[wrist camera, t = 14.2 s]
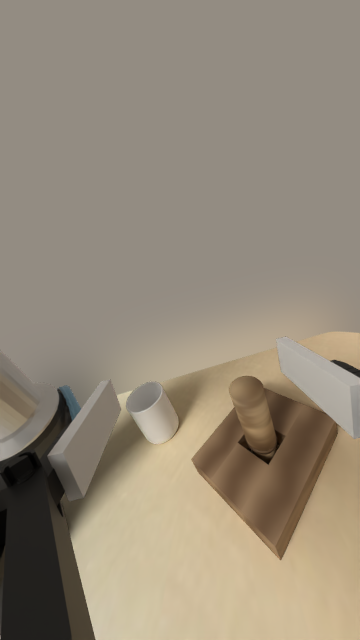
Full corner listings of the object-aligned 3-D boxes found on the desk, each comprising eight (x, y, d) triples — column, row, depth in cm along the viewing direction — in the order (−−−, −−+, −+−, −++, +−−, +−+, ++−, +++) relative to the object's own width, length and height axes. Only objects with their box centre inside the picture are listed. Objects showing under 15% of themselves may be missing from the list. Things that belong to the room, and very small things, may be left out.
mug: (178, 398, 54) (163, 368, 50) (180, 439, 43) (162, 405, 39) (149, 407, 55) (131, 378, 51) (144, 450, 44) (122, 418, 40)
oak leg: (245, 456, 36) (222, 392, 30) (260, 435, 38) (241, 371, 32) (272, 476, 32) (251, 407, 26) (286, 451, 34) (270, 383, 28)
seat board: (198, 472, 36) (191, 459, 35) (257, 396, 46) (253, 384, 44) (280, 560, 24) (275, 546, 23) (337, 433, 34) (336, 417, 32)
